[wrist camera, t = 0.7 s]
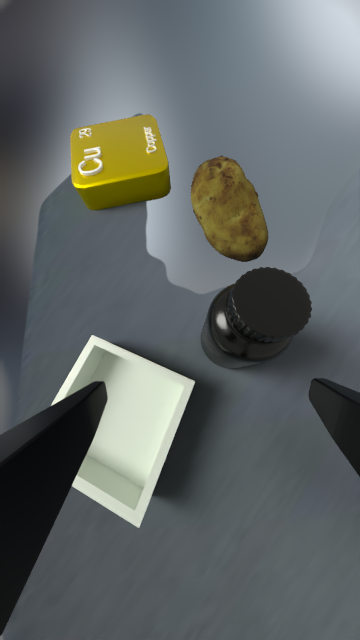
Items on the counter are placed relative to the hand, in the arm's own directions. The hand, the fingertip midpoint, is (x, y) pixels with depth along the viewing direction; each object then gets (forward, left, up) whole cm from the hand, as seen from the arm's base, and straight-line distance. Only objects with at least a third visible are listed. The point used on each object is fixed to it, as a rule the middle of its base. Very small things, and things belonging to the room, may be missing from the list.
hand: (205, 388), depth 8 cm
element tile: (+28, +25, -14) cm, 40 cm away
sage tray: (-6, +6, -14) cm, 16 cm away
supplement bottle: (+6, -2, -14) cm, 15 cm away
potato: (+21, +4, -14) cm, 26 cm away
